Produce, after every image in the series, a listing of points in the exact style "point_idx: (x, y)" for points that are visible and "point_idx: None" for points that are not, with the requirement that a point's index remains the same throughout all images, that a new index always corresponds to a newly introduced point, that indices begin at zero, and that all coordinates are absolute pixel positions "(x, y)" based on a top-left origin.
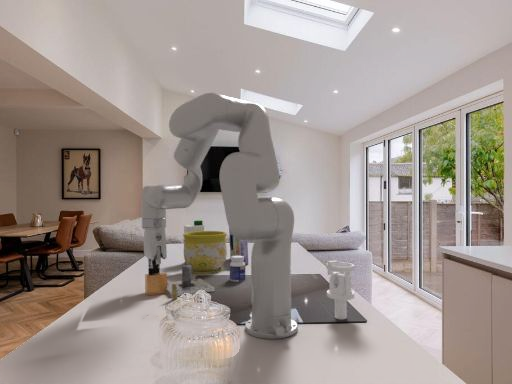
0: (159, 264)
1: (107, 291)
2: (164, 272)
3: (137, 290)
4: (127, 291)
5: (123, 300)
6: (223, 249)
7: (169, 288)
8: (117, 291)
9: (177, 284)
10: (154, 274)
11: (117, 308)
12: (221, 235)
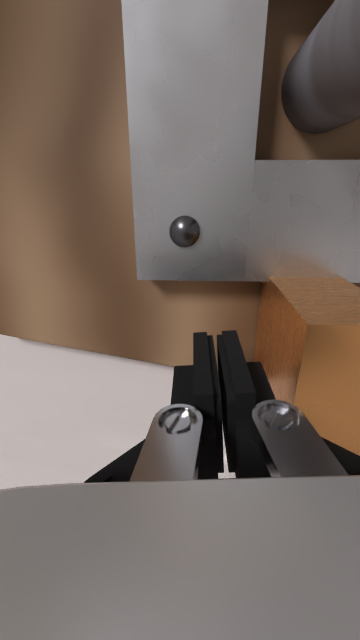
0: (317, 441)
1: (31, 479)
2: (323, 332)
3: (63, 372)
4: (65, 414)
5: (223, 451)
6: None
7: (336, 257)
8: (47, 448)
9: (249, 155)
10: (343, 431)
11: None
12: None
